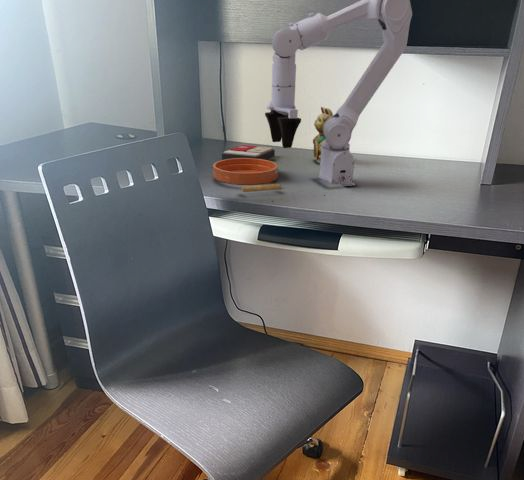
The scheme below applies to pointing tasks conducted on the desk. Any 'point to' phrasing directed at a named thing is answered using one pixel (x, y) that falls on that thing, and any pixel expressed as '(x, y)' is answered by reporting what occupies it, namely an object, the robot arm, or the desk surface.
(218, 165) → the bowl
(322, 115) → the decorative figurine
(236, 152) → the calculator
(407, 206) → the desk surface
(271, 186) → the cylinder
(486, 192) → the desk surface
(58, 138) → the desk surface
